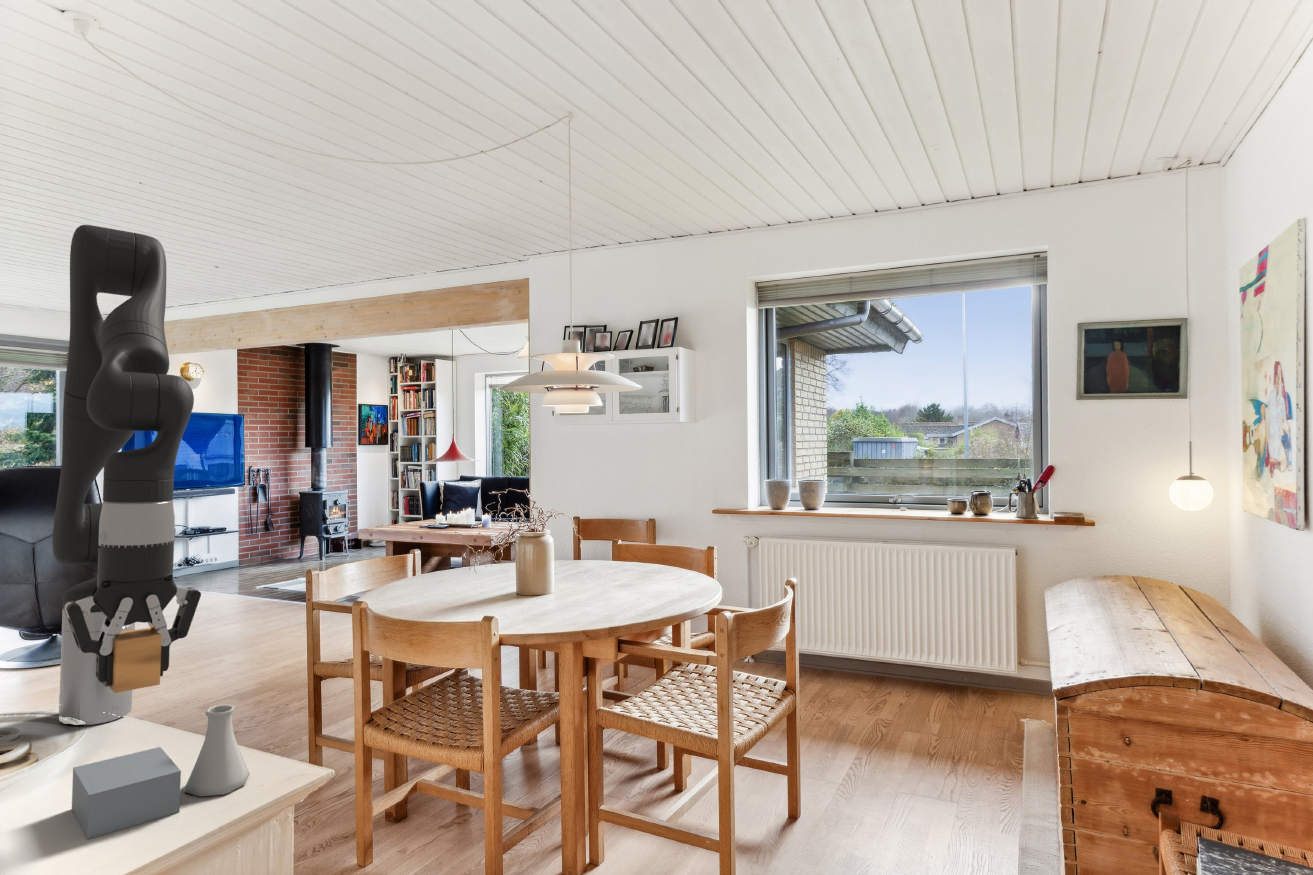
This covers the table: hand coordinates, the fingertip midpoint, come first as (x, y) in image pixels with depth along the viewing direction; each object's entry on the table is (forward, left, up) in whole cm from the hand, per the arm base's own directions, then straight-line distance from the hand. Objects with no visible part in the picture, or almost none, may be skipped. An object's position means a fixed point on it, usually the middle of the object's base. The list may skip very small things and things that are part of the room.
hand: (132, 679), depth 91 cm
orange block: (0, 0, -1) cm, 1 cm away
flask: (0, +10, -16) cm, 19 cm away
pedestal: (0, 0, -16) cm, 16 cm away
